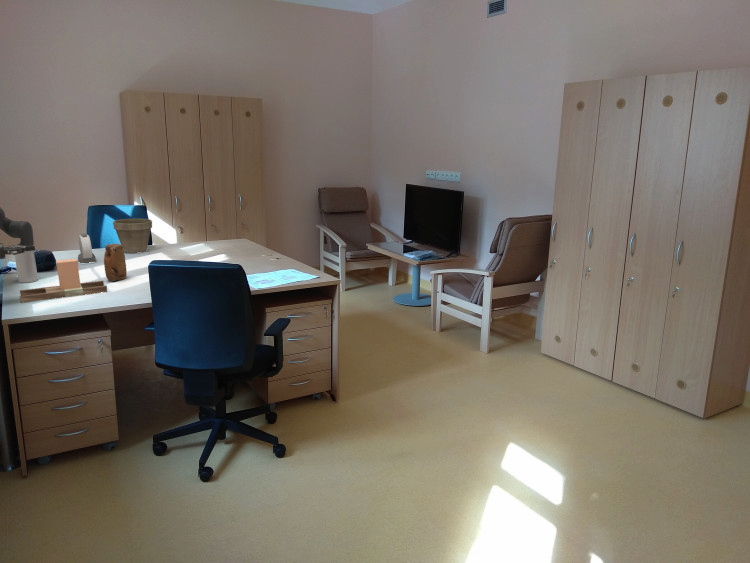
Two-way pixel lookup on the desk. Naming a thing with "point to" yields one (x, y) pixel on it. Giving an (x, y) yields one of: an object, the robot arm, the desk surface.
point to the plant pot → (133, 234)
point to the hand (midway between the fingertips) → (34, 247)
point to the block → (114, 262)
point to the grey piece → (85, 250)
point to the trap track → (61, 291)
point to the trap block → (68, 274)
